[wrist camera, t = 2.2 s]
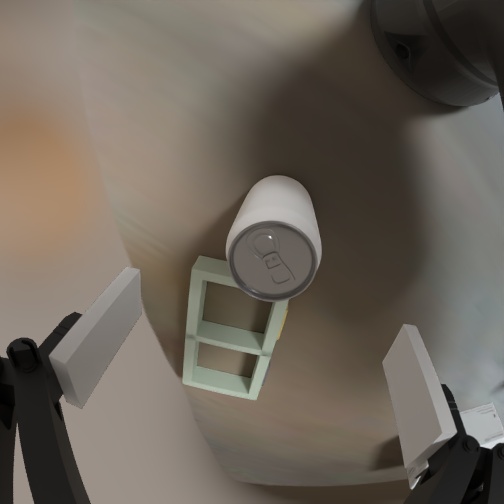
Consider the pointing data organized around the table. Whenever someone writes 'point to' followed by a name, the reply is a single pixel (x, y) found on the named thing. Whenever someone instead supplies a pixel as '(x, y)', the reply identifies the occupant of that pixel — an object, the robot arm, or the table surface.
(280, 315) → the socket board
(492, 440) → the supplement box
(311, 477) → the table surface
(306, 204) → the can
